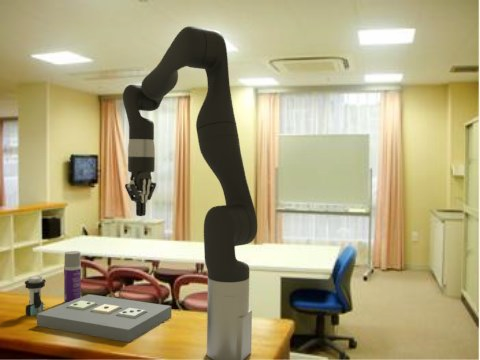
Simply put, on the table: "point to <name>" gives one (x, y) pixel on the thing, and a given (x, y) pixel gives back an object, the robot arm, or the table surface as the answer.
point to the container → (72, 276)
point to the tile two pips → (82, 305)
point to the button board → (105, 318)
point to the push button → (35, 295)
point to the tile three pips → (131, 313)
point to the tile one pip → (106, 309)
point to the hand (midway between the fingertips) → (140, 215)
